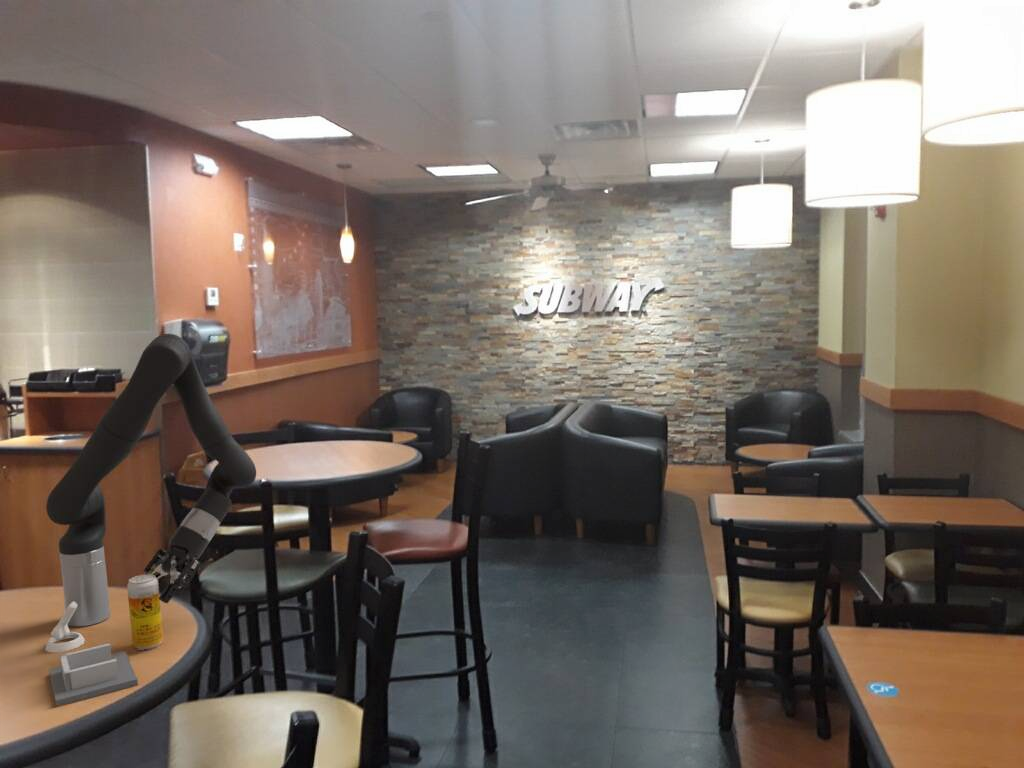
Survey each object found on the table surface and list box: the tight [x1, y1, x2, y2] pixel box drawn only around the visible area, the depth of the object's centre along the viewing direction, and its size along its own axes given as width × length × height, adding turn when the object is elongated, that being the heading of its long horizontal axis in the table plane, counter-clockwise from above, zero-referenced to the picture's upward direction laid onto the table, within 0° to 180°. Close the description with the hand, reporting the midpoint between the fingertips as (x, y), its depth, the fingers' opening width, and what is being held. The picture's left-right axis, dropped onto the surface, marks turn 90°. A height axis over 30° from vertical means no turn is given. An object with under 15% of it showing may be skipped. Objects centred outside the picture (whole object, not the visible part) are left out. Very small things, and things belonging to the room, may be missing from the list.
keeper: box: [48, 643, 139, 708], centre depth 163 cm, size 16×14×5 cm
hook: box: [44, 602, 86, 653], centre depth 180 cm, size 8×12×7 cm
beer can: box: [126, 573, 164, 651], centre depth 178 cm, size 6×6×15 cm
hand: (152, 597), depth 179 cm, fingers open, 8 cm apart
